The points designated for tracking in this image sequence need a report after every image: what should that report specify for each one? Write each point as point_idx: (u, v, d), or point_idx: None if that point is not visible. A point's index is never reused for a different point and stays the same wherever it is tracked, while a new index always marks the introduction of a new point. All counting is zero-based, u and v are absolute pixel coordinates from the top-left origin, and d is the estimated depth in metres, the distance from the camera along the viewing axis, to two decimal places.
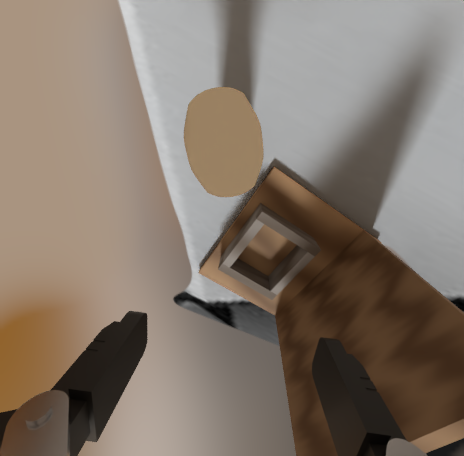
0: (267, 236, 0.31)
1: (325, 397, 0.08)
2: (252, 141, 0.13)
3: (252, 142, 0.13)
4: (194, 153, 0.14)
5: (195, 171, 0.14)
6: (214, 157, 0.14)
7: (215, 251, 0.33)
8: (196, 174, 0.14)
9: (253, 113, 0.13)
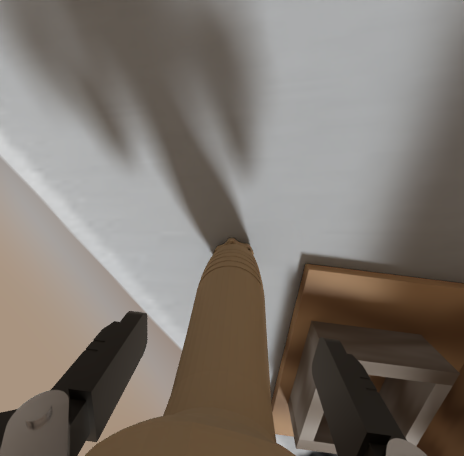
0: None
1: (325, 397, 0.08)
2: None
3: None
4: None
5: None
6: None
7: (277, 400, 0.22)
8: None
9: None
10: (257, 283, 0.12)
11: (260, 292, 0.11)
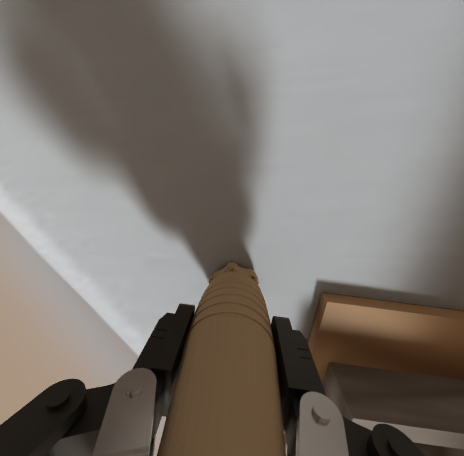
0: None
1: None
2: None
3: None
4: None
5: None
6: None
7: None
8: None
9: None
10: (267, 338, 0.08)
11: (271, 353, 0.08)
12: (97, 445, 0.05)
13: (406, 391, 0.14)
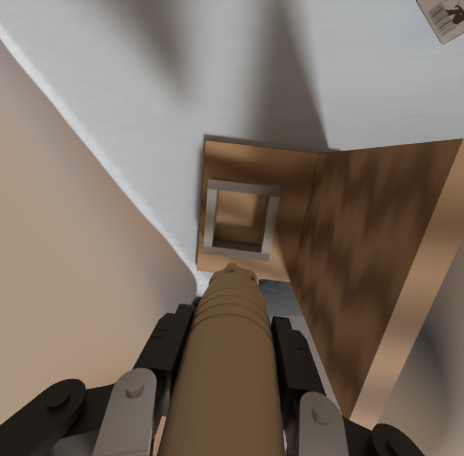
0: (235, 205, 0.32)
1: None
2: None
3: None
4: None
5: None
6: None
7: (199, 242, 0.34)
8: None
9: None
10: (266, 340, 0.08)
11: (271, 355, 0.08)
12: (97, 445, 0.05)
13: (242, 181, 0.29)
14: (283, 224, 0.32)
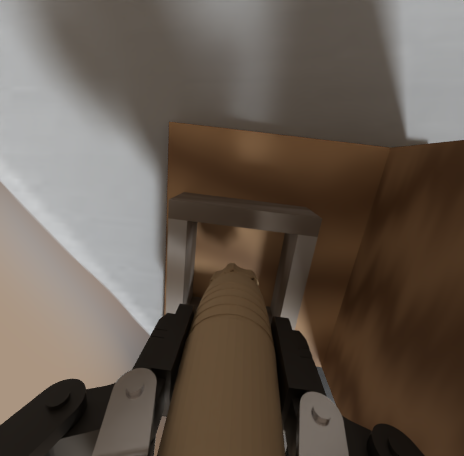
0: (228, 241, 0.17)
1: None
2: None
3: None
4: None
5: None
6: None
7: None
8: None
9: None
10: (266, 340, 0.08)
11: (271, 355, 0.08)
12: (97, 445, 0.05)
13: (240, 202, 0.15)
14: (313, 276, 0.18)
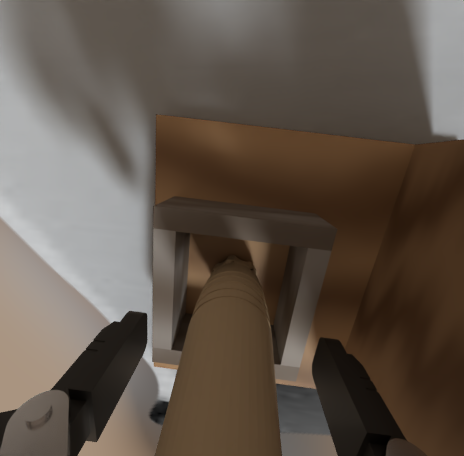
0: (226, 252, 0.15)
1: (325, 397, 0.08)
2: None
3: None
4: None
5: None
6: None
7: None
8: None
9: None
10: (263, 319, 0.09)
11: (267, 332, 0.09)
12: None
13: (239, 208, 0.13)
14: (322, 291, 0.16)
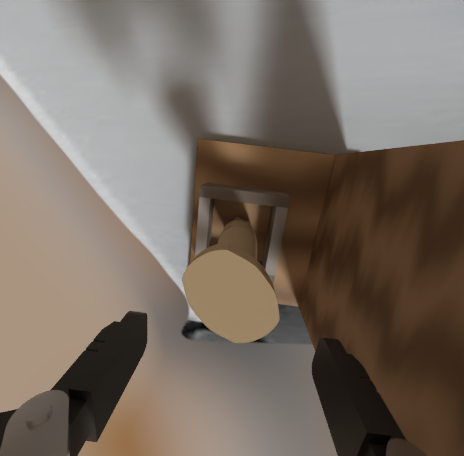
0: (234, 215, 0.27)
1: (325, 397, 0.08)
2: (256, 283, 0.12)
3: (256, 284, 0.12)
4: (206, 315, 0.13)
5: (214, 329, 0.13)
6: (226, 311, 0.13)
7: (191, 259, 0.29)
8: (216, 331, 0.13)
9: (245, 261, 0.12)
10: (253, 235, 0.21)
11: (254, 239, 0.20)
12: None
13: (242, 188, 0.24)
14: (290, 239, 0.27)
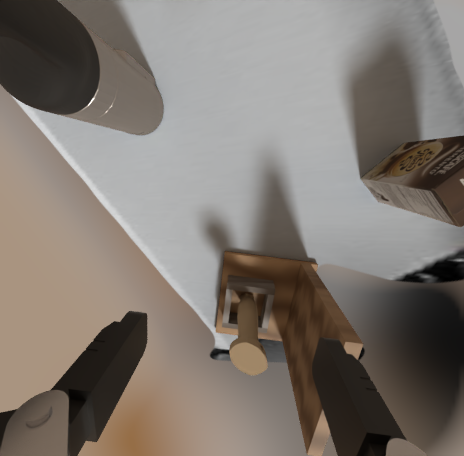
0: (244, 291, 0.46)
1: (325, 397, 0.08)
2: (258, 353, 0.32)
3: (258, 354, 0.32)
4: (238, 364, 0.32)
5: (241, 370, 0.33)
6: (246, 363, 0.32)
7: (218, 314, 0.48)
8: (242, 370, 0.33)
9: (254, 346, 0.31)
10: (255, 313, 0.40)
11: (256, 316, 0.40)
12: None
13: (249, 281, 0.43)
14: (277, 304, 0.46)
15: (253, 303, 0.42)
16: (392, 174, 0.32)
